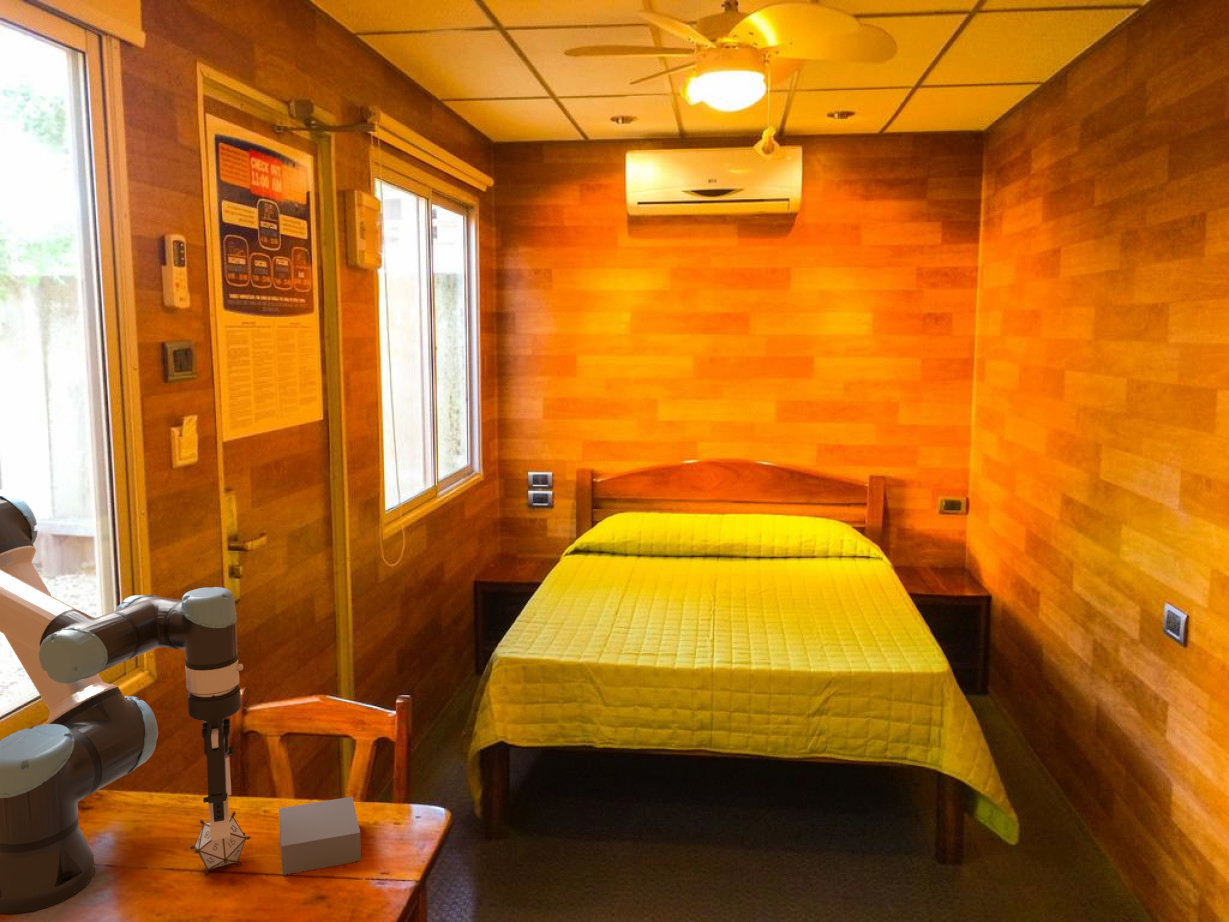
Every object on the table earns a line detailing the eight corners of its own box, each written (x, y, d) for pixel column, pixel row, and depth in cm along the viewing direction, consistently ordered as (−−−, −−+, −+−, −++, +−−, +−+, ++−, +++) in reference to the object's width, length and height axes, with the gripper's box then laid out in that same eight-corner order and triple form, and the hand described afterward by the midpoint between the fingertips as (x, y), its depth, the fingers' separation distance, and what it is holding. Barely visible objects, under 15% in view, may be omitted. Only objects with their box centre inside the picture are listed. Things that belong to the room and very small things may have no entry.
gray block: (282, 875, 147) (281, 846, 146) (279, 835, 158) (278, 808, 157) (360, 860, 151) (360, 832, 151) (352, 823, 162) (352, 796, 162)
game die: (208, 890, 149) (167, 843, 147) (248, 848, 155) (209, 803, 154) (232, 884, 143) (189, 836, 142) (272, 841, 150) (232, 795, 148)
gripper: (239, 716, 135) (247, 852, 138) (240, 657, 157) (246, 775, 161) (182, 723, 132) (191, 862, 135) (191, 663, 155) (199, 783, 158)
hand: (221, 815), depth 148 cm, fingers open, 13 cm apart
